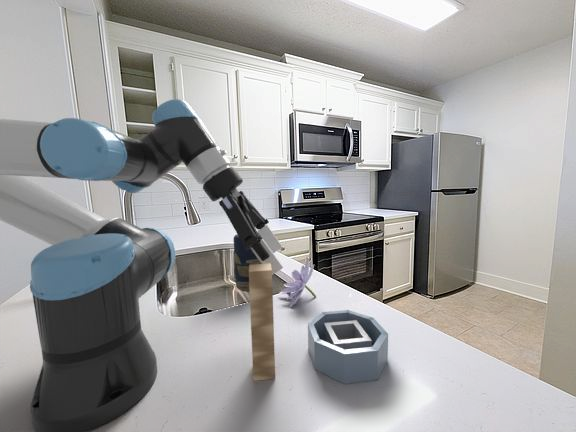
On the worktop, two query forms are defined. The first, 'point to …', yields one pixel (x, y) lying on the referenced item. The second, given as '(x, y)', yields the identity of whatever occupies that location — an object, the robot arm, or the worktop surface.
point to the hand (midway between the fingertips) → (277, 259)
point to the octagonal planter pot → (348, 346)
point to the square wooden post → (262, 321)
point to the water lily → (298, 283)
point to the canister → (243, 264)
